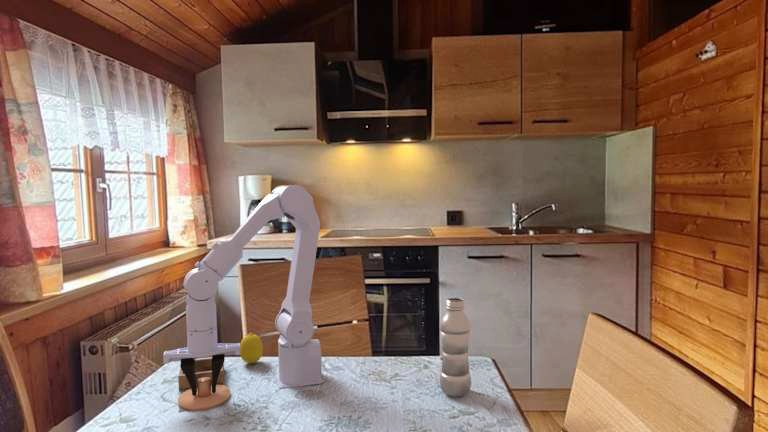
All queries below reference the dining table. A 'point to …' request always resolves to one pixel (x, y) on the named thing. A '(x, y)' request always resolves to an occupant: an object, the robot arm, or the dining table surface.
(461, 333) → the plastic bottle
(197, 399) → the lid
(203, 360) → the wooden open tray
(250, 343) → the lemon
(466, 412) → the dining table surface
